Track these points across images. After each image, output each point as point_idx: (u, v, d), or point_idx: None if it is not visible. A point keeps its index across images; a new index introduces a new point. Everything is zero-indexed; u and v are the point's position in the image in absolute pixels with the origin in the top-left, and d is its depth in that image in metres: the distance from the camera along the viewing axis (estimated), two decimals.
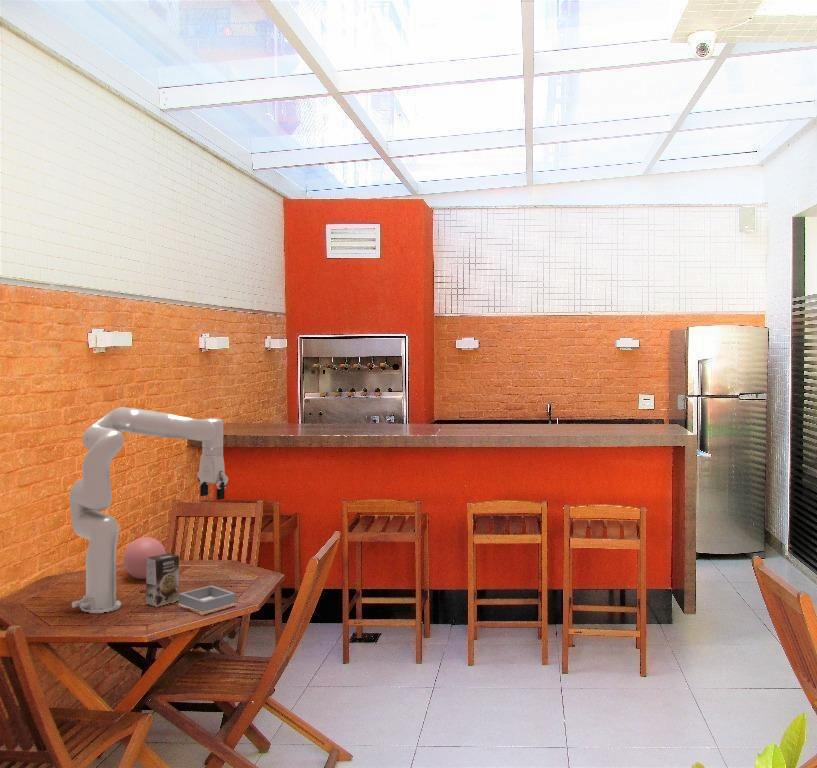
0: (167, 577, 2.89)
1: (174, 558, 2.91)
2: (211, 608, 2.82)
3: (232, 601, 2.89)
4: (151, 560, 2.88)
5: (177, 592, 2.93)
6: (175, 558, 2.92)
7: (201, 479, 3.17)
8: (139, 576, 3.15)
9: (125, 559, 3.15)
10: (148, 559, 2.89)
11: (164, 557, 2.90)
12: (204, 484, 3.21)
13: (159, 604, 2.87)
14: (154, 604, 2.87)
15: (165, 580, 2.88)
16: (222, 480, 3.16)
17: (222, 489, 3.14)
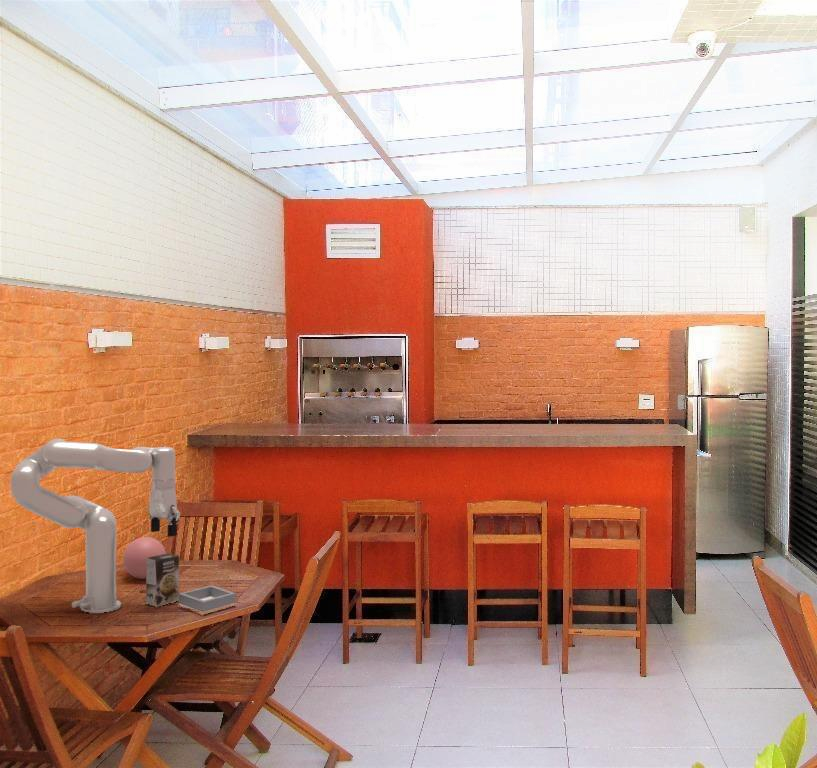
0: (167, 577, 2.89)
1: (174, 558, 2.91)
2: (211, 608, 2.82)
3: (232, 601, 2.89)
4: (151, 560, 2.88)
5: (177, 592, 2.93)
6: (175, 558, 2.92)
7: (151, 514, 2.90)
8: (139, 576, 3.15)
9: (125, 559, 3.15)
10: (148, 559, 2.89)
11: (164, 557, 2.90)
12: (155, 519, 2.93)
13: (159, 604, 2.87)
14: (154, 604, 2.87)
15: (165, 580, 2.88)
16: (174, 515, 2.88)
17: (174, 525, 2.87)
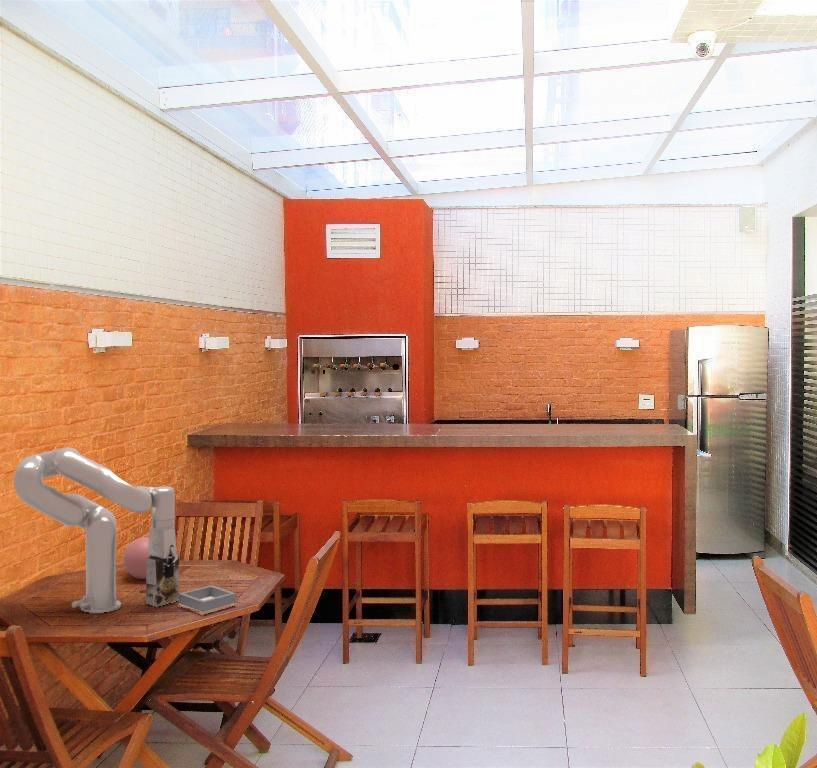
0: None
1: None
2: (211, 608, 2.82)
3: (232, 601, 2.89)
4: (151, 560, 2.88)
5: (177, 592, 2.93)
6: None
7: (150, 553, 2.91)
8: (139, 576, 3.15)
9: (125, 559, 3.15)
10: (148, 559, 2.89)
11: None
12: None
13: (159, 604, 2.87)
14: (154, 604, 2.87)
15: (165, 580, 2.88)
16: None
17: (171, 566, 2.88)
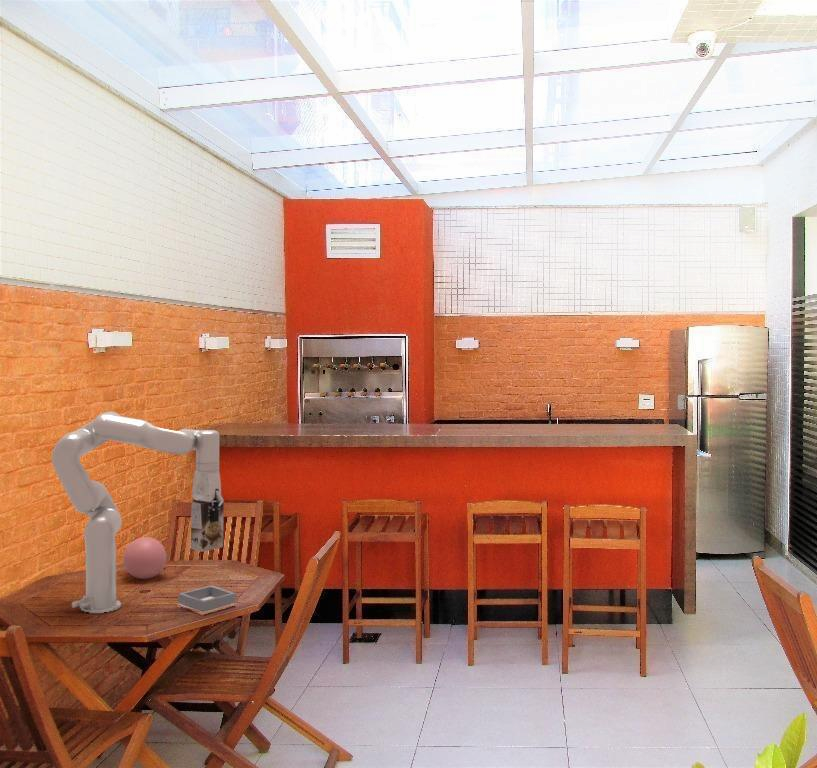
0: None
1: None
2: (211, 608, 2.82)
3: (232, 601, 2.89)
4: (196, 504, 2.84)
5: (222, 537, 2.89)
6: None
7: (195, 497, 2.87)
8: (139, 576, 3.15)
9: (125, 559, 3.15)
10: (193, 503, 2.85)
11: None
12: None
13: (204, 548, 2.83)
14: (199, 548, 2.83)
15: (210, 524, 2.85)
16: (217, 500, 2.86)
17: (216, 510, 2.84)
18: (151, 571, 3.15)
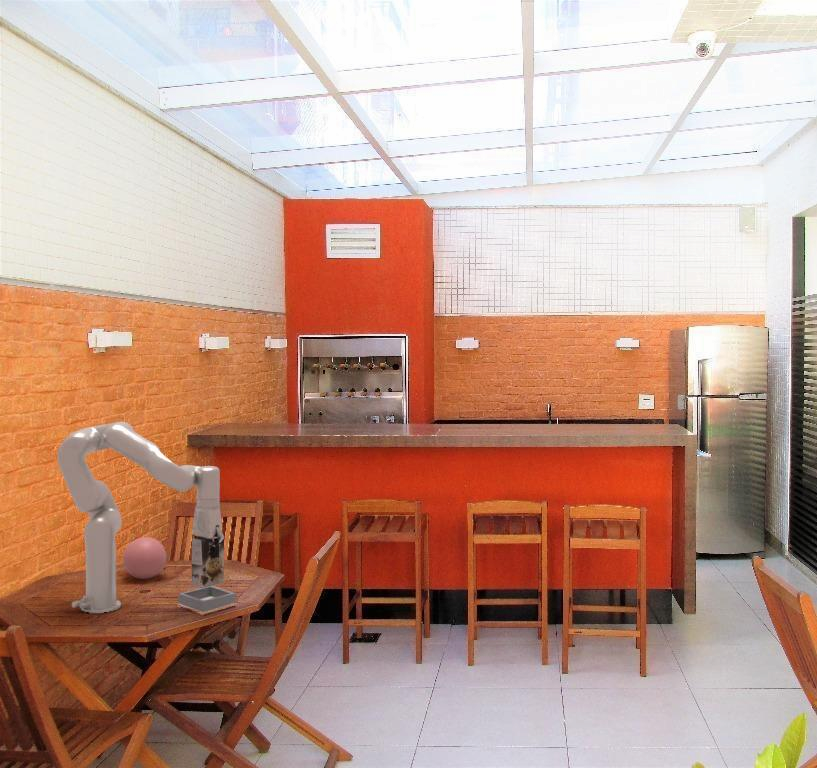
0: (213, 558, 2.86)
1: None
2: (211, 608, 2.82)
3: (232, 601, 2.89)
4: (197, 540, 2.85)
5: (222, 573, 2.90)
6: None
7: (195, 534, 2.88)
8: (139, 576, 3.15)
9: (125, 559, 3.15)
10: (193, 539, 2.86)
11: None
12: None
13: (205, 584, 2.84)
14: (200, 584, 2.84)
15: (210, 560, 2.85)
16: (217, 536, 2.86)
17: (216, 547, 2.85)
18: (151, 571, 3.15)
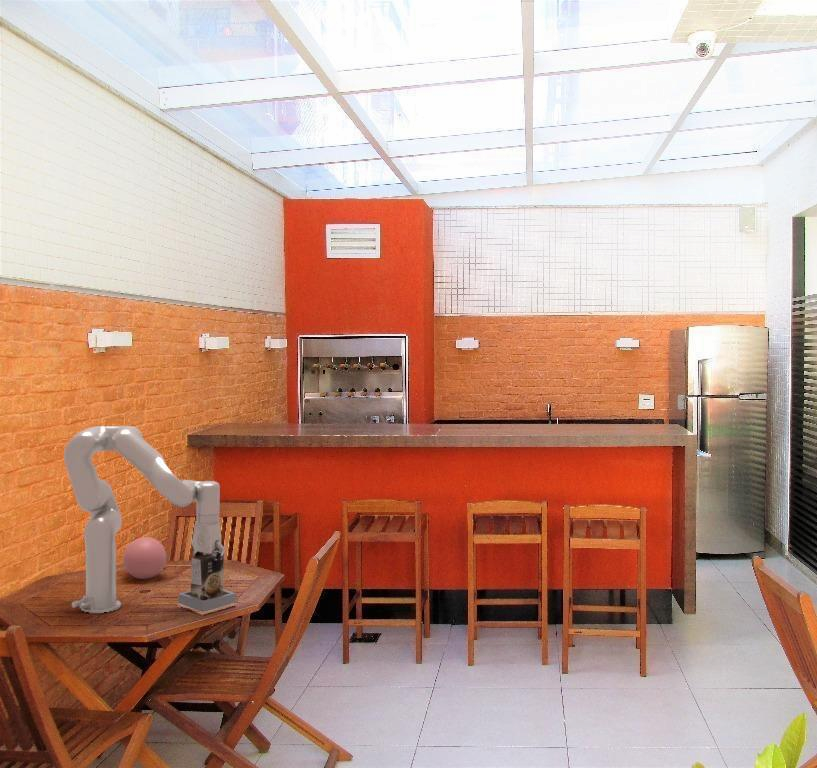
0: (212, 577, 2.86)
1: None
2: (211, 608, 2.82)
3: (232, 601, 2.89)
4: (196, 560, 2.85)
5: (222, 592, 2.90)
6: None
7: (195, 548, 2.88)
8: (139, 576, 3.15)
9: (125, 559, 3.15)
10: (193, 559, 2.86)
11: (209, 557, 2.87)
12: (199, 553, 2.91)
13: None
14: None
15: (209, 580, 2.85)
16: (218, 550, 2.86)
17: (218, 560, 2.85)
18: (151, 571, 3.15)
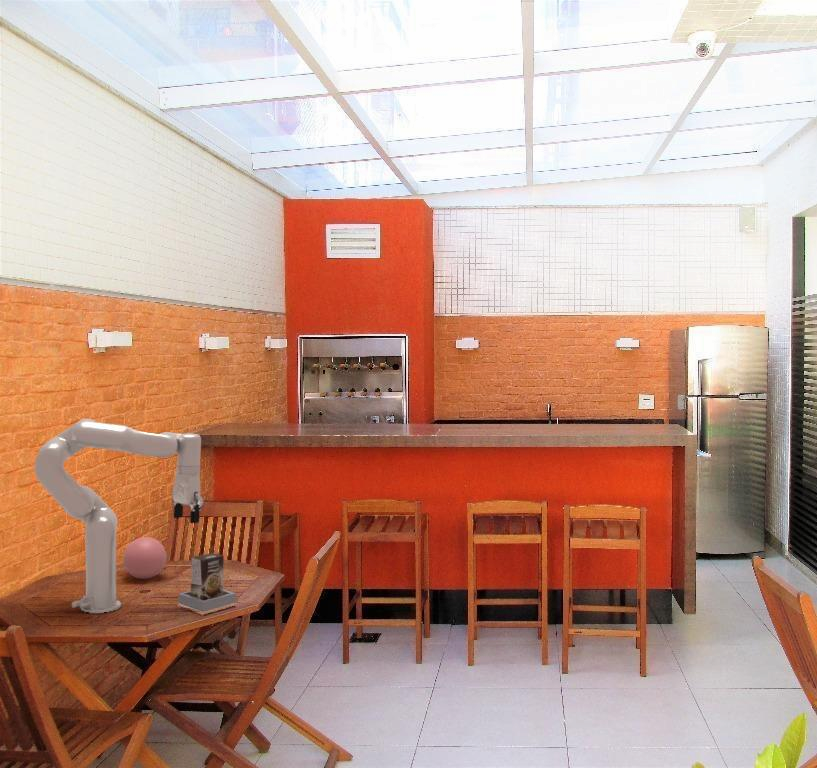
0: (212, 577, 2.86)
1: (219, 558, 2.88)
2: (211, 608, 2.82)
3: (232, 601, 2.89)
4: (196, 560, 2.85)
5: (222, 592, 2.90)
6: (220, 558, 2.88)
7: (175, 500, 2.91)
8: (139, 576, 3.15)
9: (125, 559, 3.15)
10: (193, 559, 2.86)
11: (209, 557, 2.87)
12: (178, 505, 2.94)
13: None
14: None
15: (209, 580, 2.85)
16: (197, 502, 2.89)
17: (196, 512, 2.87)
18: (151, 571, 3.15)
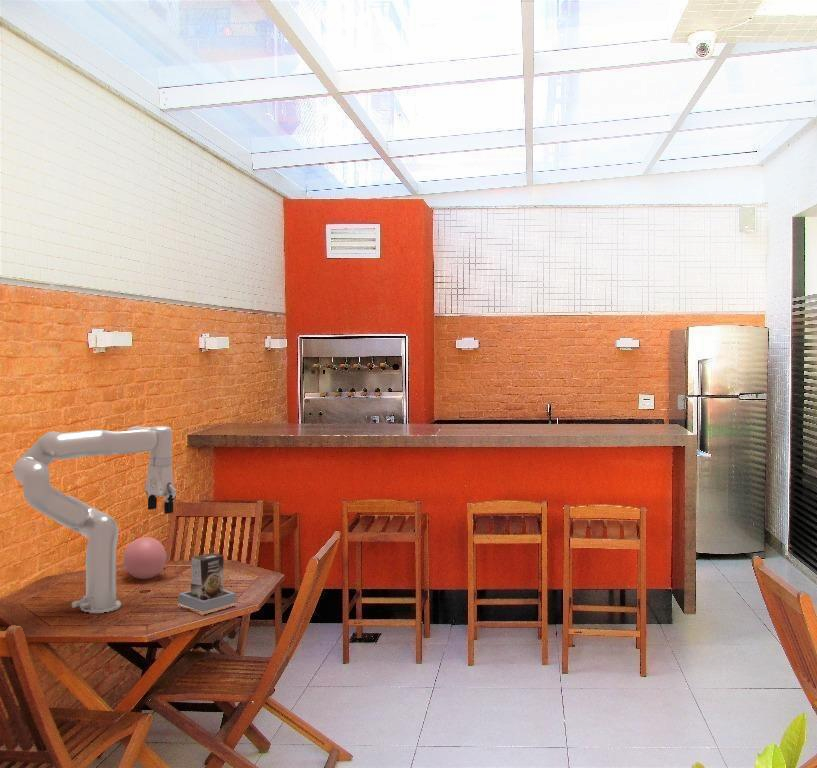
0: (212, 577, 2.86)
1: (219, 558, 2.88)
2: (211, 608, 2.82)
3: (232, 601, 2.89)
4: (196, 560, 2.85)
5: (222, 592, 2.90)
6: (220, 558, 2.88)
7: (148, 491, 2.96)
8: (139, 576, 3.15)
9: (125, 559, 3.15)
10: (193, 559, 2.86)
11: (209, 557, 2.87)
12: (152, 497, 2.99)
13: None
14: None
15: (209, 580, 2.85)
16: (171, 493, 2.94)
17: (170, 502, 2.93)
18: (151, 571, 3.15)
